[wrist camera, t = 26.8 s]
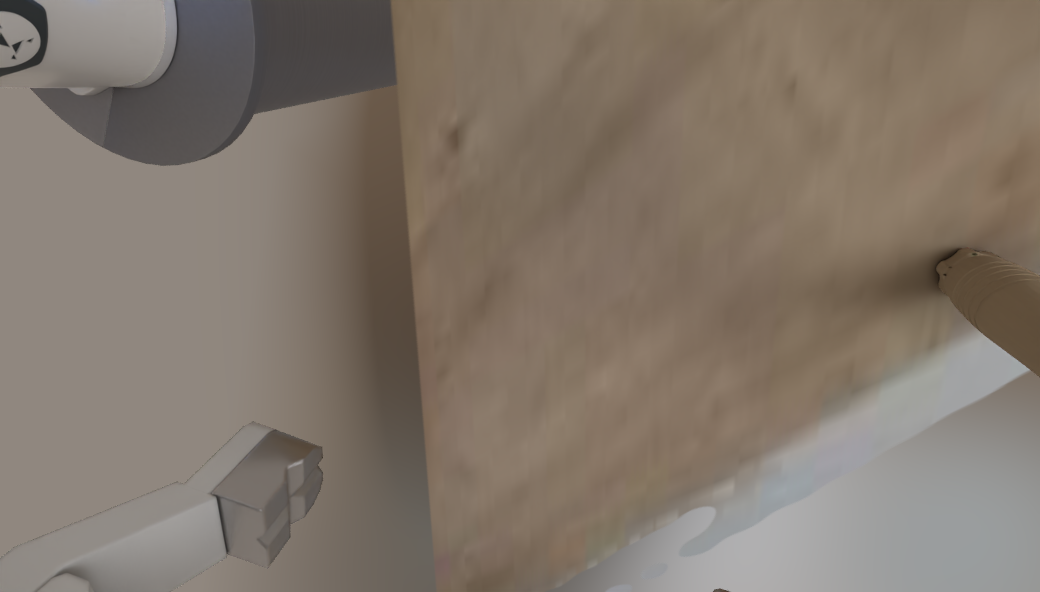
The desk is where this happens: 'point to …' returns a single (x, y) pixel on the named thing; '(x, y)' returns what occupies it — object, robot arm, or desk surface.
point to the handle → (996, 301)
